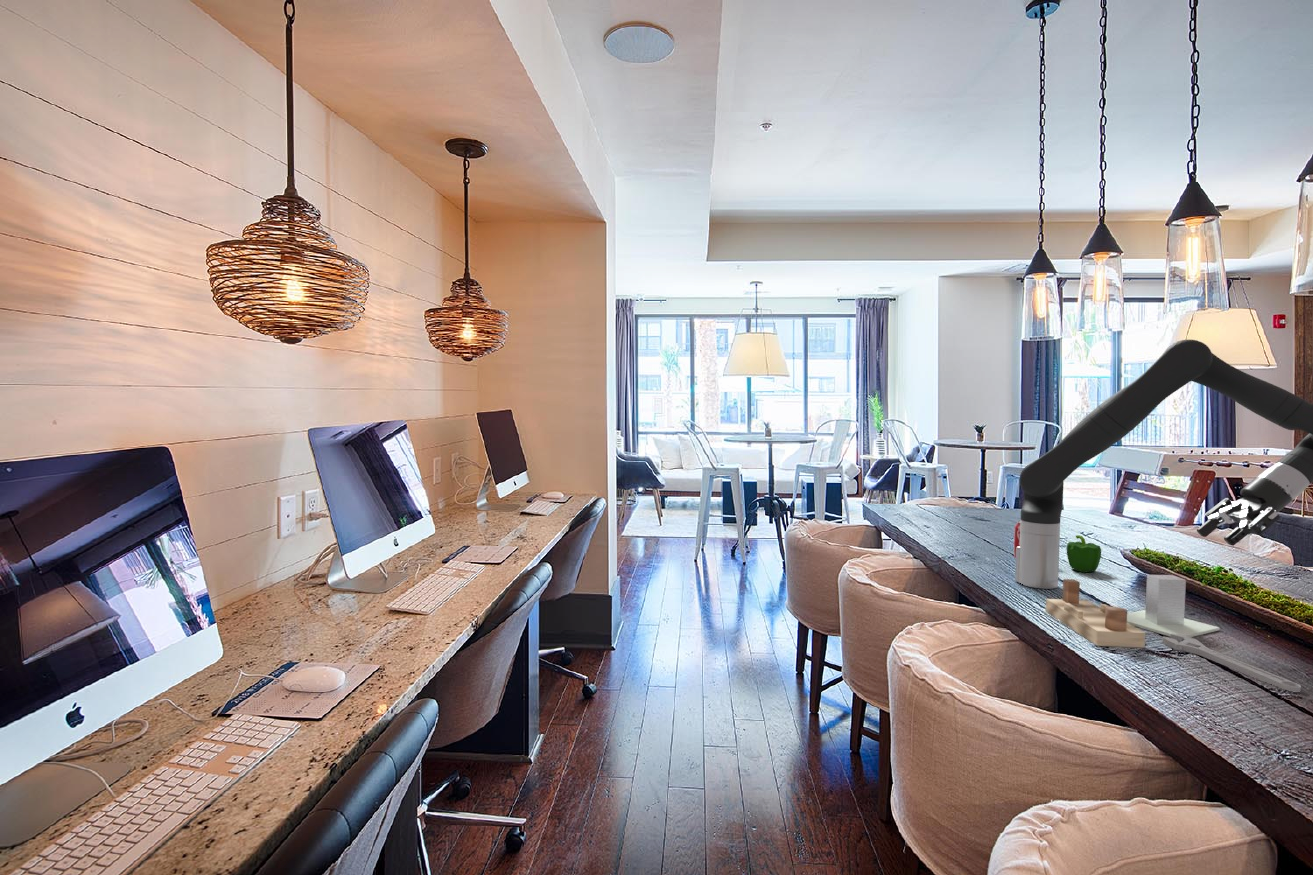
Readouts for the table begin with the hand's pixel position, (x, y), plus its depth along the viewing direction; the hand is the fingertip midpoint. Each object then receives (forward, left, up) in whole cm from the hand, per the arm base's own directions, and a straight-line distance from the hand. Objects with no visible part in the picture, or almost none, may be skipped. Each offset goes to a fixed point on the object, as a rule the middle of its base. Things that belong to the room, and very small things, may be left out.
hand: (1213, 538), depth 147 cm
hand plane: (-8, -28, -19) cm, 35 cm away
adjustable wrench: (+14, -24, -20) cm, 34 cm away
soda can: (-56, +15, -19) cm, 62 cm away
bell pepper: (-41, +19, -19) cm, 50 cm away
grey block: (-3, -11, -18) cm, 22 cm away
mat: (-3, -11, -19) cm, 22 cm away
